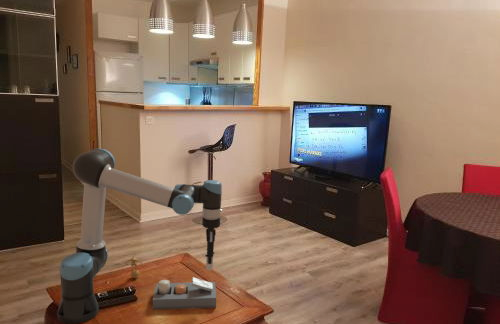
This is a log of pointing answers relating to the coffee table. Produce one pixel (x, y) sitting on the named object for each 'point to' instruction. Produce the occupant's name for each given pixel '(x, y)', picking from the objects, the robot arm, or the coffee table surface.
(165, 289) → the button left
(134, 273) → the figurine
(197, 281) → the block
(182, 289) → the button right
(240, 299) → the coffee table surface
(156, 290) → the grey slotted block
